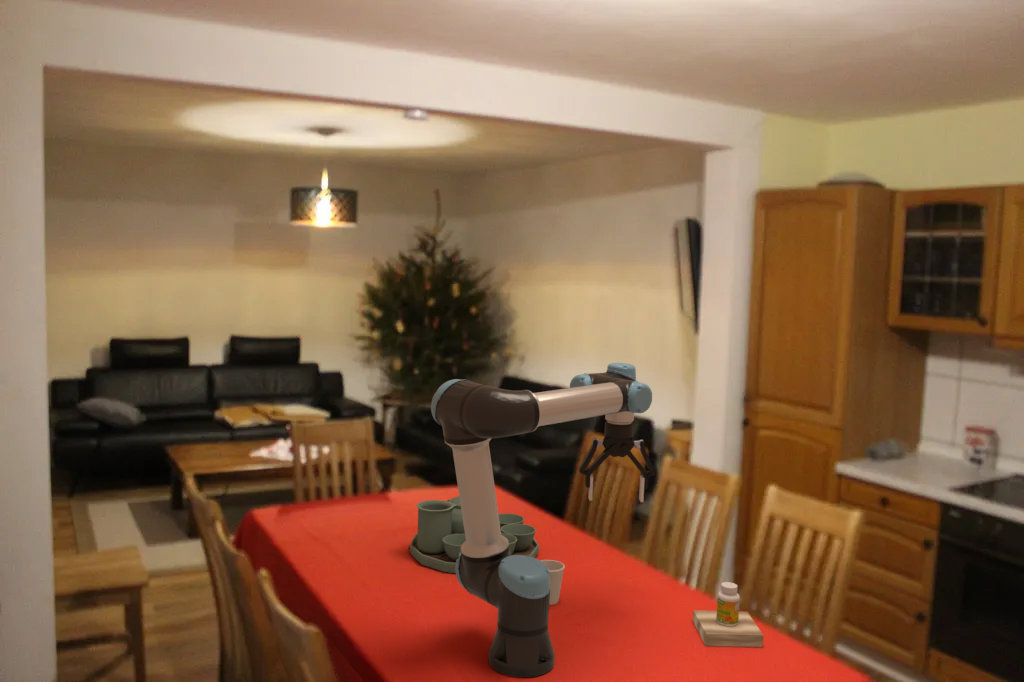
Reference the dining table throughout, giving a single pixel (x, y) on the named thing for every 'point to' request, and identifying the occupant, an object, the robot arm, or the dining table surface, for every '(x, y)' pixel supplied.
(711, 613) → the birch stand
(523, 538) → the tea set
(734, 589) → the supplement bottle
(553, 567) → the dixie cup
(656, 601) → the dining table surface
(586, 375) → the robot arm
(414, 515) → the dining table surface
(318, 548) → the dining table surface
